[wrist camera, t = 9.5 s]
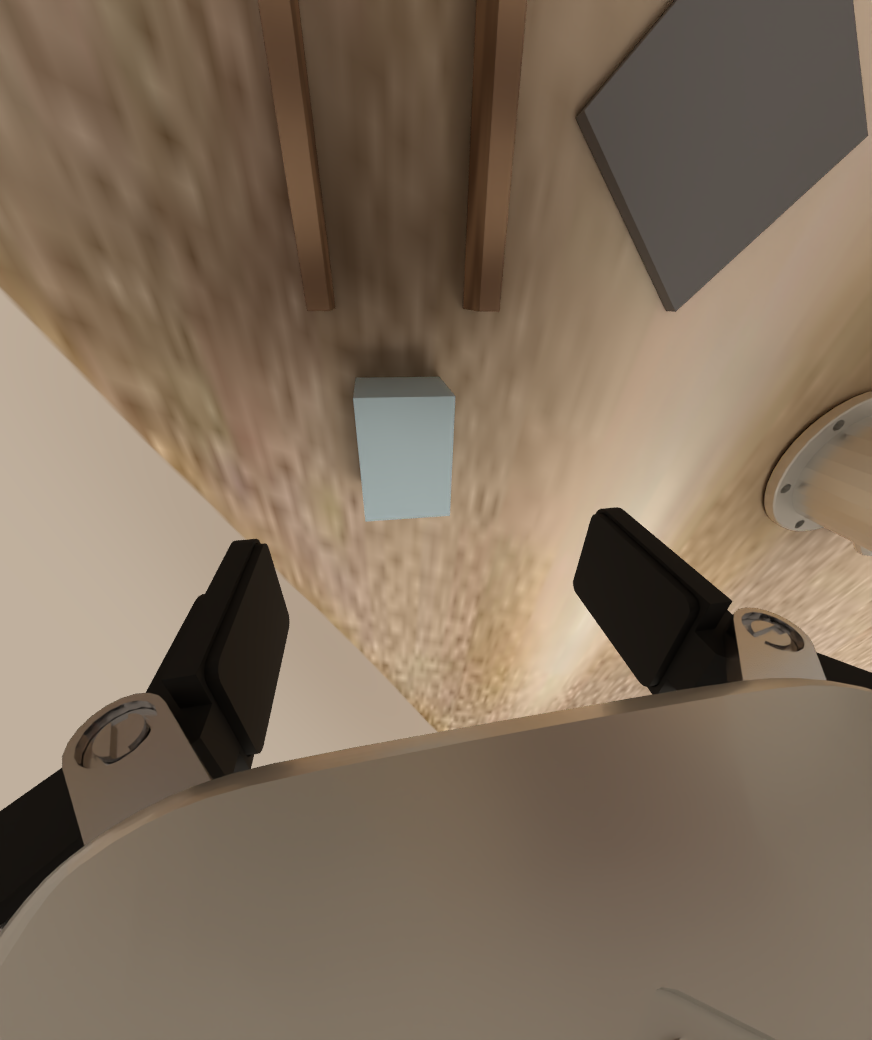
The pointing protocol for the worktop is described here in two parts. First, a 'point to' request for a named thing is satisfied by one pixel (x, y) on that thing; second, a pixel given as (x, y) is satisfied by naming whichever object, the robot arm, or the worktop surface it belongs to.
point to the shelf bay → (489, 146)
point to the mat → (724, 127)
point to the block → (404, 446)
